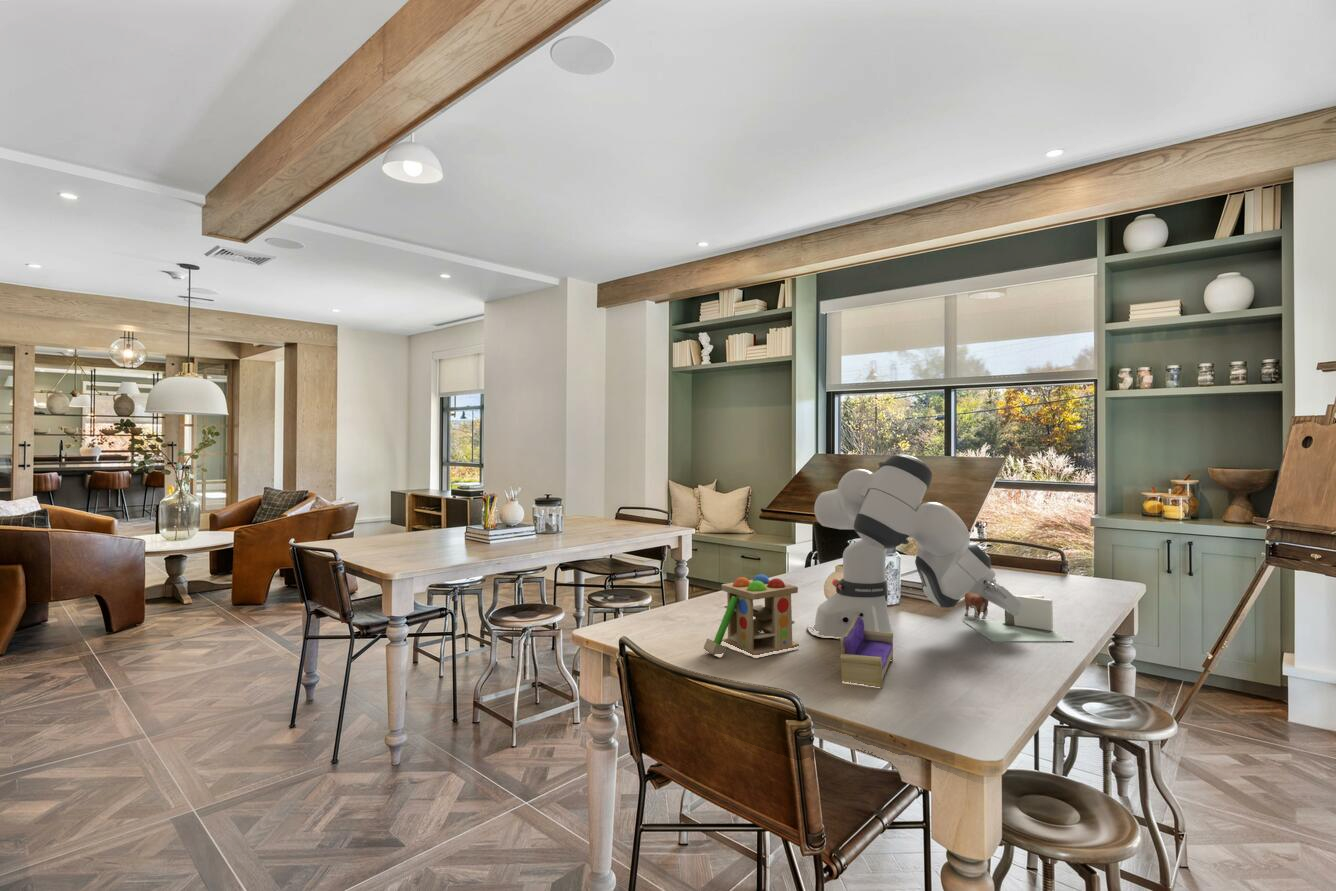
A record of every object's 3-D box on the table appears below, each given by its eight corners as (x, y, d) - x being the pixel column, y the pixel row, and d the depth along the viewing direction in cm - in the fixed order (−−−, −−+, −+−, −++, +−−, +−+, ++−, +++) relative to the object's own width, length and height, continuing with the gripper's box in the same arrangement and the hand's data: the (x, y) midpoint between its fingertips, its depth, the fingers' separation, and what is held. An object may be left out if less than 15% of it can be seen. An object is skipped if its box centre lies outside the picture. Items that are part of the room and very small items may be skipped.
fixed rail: (1007, 625, 182) (1006, 596, 182) (1003, 623, 185) (1002, 595, 185) (1045, 625, 181) (1044, 596, 182) (1041, 623, 184) (1040, 594, 184)
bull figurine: (974, 612, 199) (973, 585, 200) (991, 622, 186) (991, 593, 186) (959, 612, 200) (958, 585, 200) (975, 621, 186) (975, 592, 187)
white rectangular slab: (1014, 625, 182) (1014, 596, 182) (1016, 623, 183) (1015, 595, 183) (1051, 630, 176) (1050, 600, 176) (1053, 629, 177) (1052, 599, 177)
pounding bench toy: (726, 666, 154) (724, 589, 154) (693, 651, 166) (691, 580, 166) (800, 649, 166) (798, 578, 166) (764, 636, 178) (763, 570, 178)
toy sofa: (882, 691, 137) (881, 642, 137) (840, 685, 140) (839, 637, 141) (894, 661, 156) (893, 618, 156) (857, 657, 159) (856, 614, 159)
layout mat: (992, 642, 169) (992, 640, 169) (963, 621, 189) (963, 620, 189) (1073, 642, 167) (1073, 640, 167) (1035, 621, 187) (1035, 620, 187)
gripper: (1003, 577, 168) (1043, 615, 168) (970, 563, 189) (1006, 596, 188) (985, 594, 168) (1025, 632, 168) (955, 578, 189) (990, 612, 188)
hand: (1015, 613), depth 178 cm, fingers closed
